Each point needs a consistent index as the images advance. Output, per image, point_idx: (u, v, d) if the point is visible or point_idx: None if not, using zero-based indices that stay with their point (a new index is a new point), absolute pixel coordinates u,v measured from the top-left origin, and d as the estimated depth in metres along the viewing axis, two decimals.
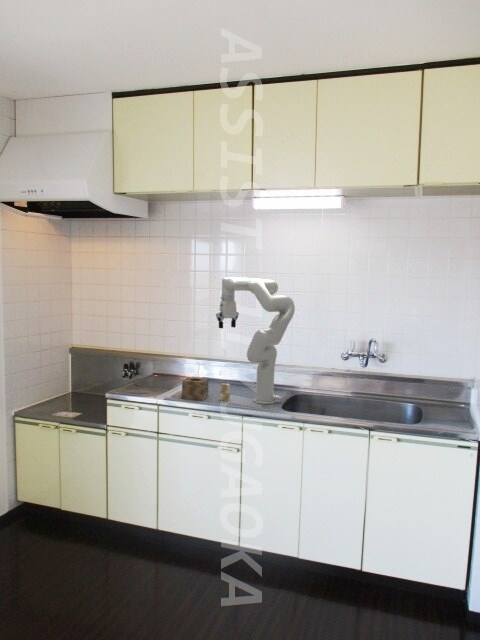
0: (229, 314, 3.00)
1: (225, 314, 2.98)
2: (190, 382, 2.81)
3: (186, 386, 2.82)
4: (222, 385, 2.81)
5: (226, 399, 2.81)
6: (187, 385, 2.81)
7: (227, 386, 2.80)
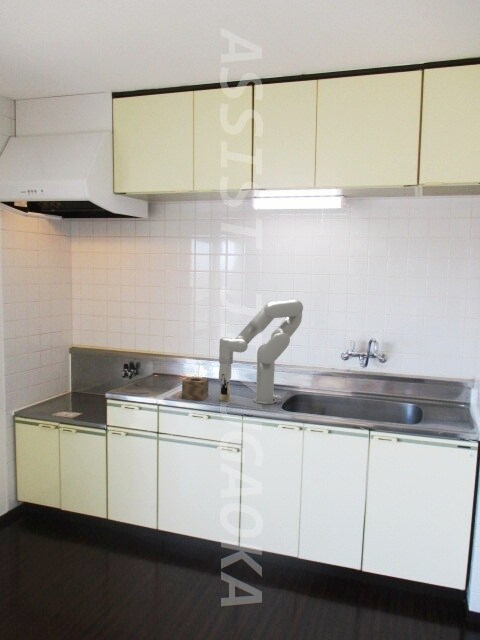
0: None
1: None
2: (190, 382, 2.81)
3: (186, 386, 2.82)
4: None
5: (226, 399, 2.81)
6: (187, 385, 2.81)
7: (227, 386, 2.80)
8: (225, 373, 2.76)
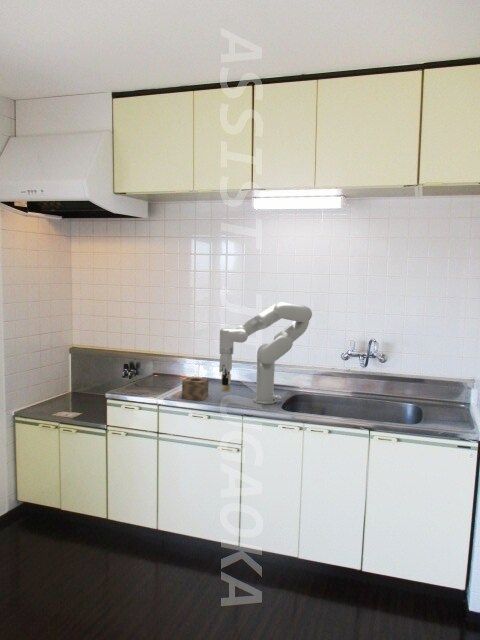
0: None
1: None
2: (190, 382, 2.81)
3: (186, 386, 2.82)
4: None
5: (227, 390, 2.80)
6: (187, 385, 2.81)
7: (228, 377, 2.79)
8: (226, 363, 2.76)
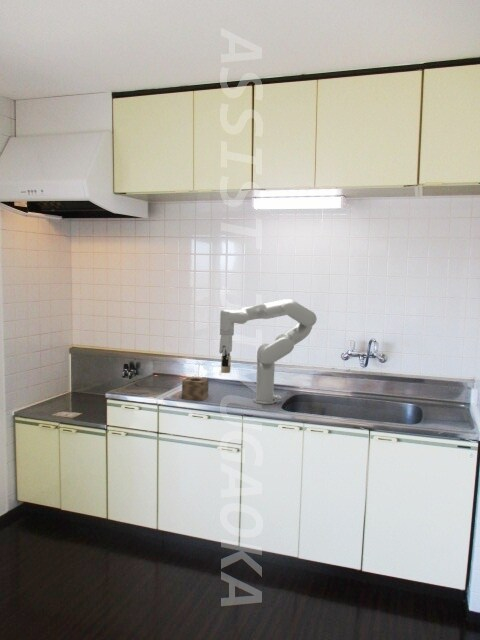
0: None
1: None
2: (190, 382, 2.81)
3: (186, 386, 2.82)
4: None
5: (227, 371, 2.79)
6: (187, 385, 2.81)
7: (228, 358, 2.78)
8: (226, 344, 2.75)
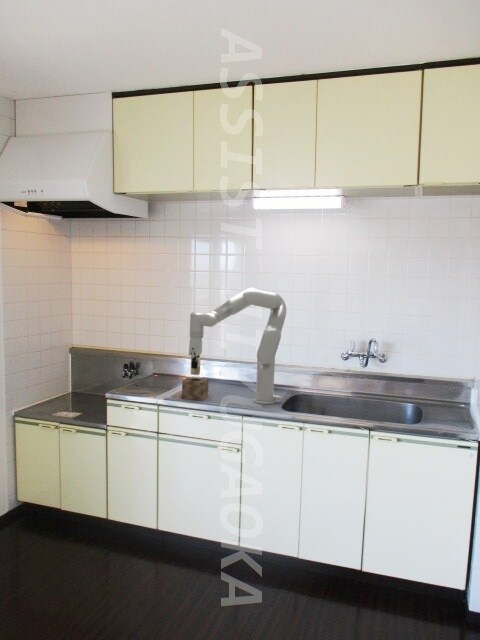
0: None
1: None
2: (190, 382, 2.81)
3: (186, 386, 2.82)
4: None
5: (196, 373, 2.83)
6: (187, 385, 2.81)
7: (197, 360, 2.82)
8: (195, 347, 2.79)
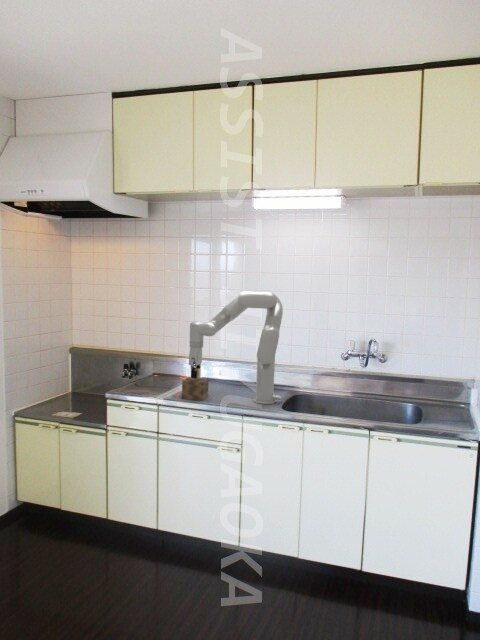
0: None
1: None
2: (190, 382, 2.81)
3: (186, 386, 2.82)
4: None
5: None
6: (187, 385, 2.81)
7: (197, 371, 2.83)
8: (195, 356, 2.79)
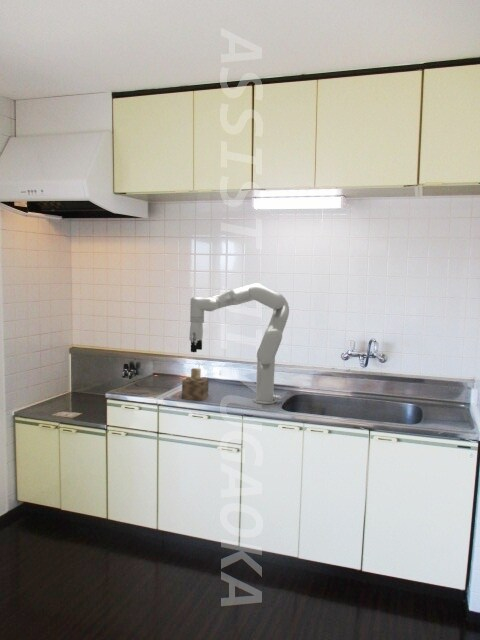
0: None
1: None
2: (190, 382, 2.81)
3: (186, 386, 2.82)
4: (193, 370, 2.84)
5: None
6: (187, 385, 2.81)
7: (197, 371, 2.83)
8: (196, 332, 2.78)
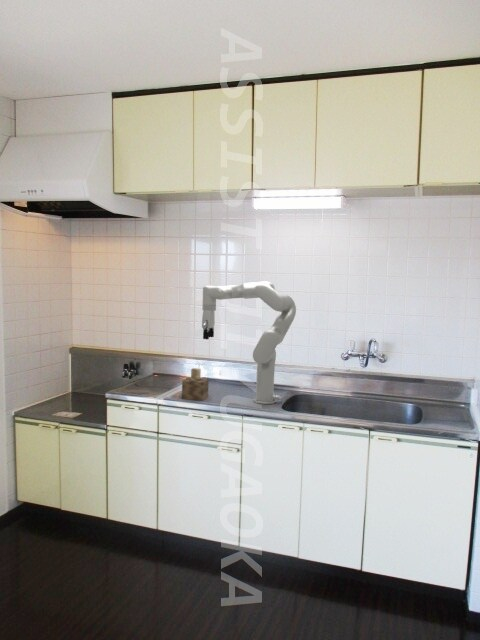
0: None
1: None
2: (190, 382, 2.81)
3: (186, 386, 2.82)
4: (193, 370, 2.84)
5: None
6: (187, 385, 2.81)
7: (197, 371, 2.83)
8: (208, 319, 2.86)
